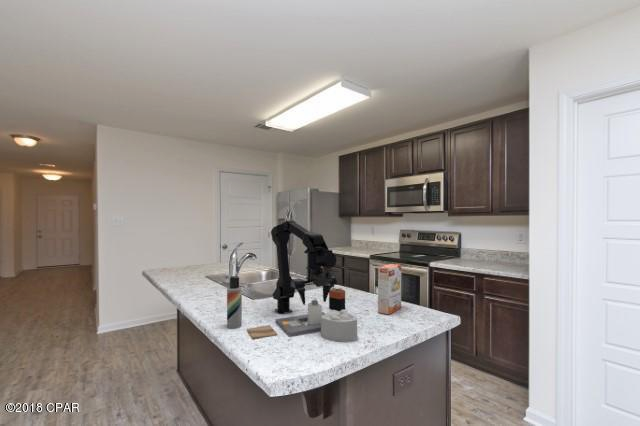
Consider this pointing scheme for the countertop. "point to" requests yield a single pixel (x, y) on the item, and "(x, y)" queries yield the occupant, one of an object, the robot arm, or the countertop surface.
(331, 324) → the lumpy-topped squat cylinder
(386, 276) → the cracker box
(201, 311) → the countertop surface
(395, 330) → the countertop surface
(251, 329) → the rest pad
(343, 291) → the battery
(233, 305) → the lotion bottle
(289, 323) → the grey square tray
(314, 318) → the plug
